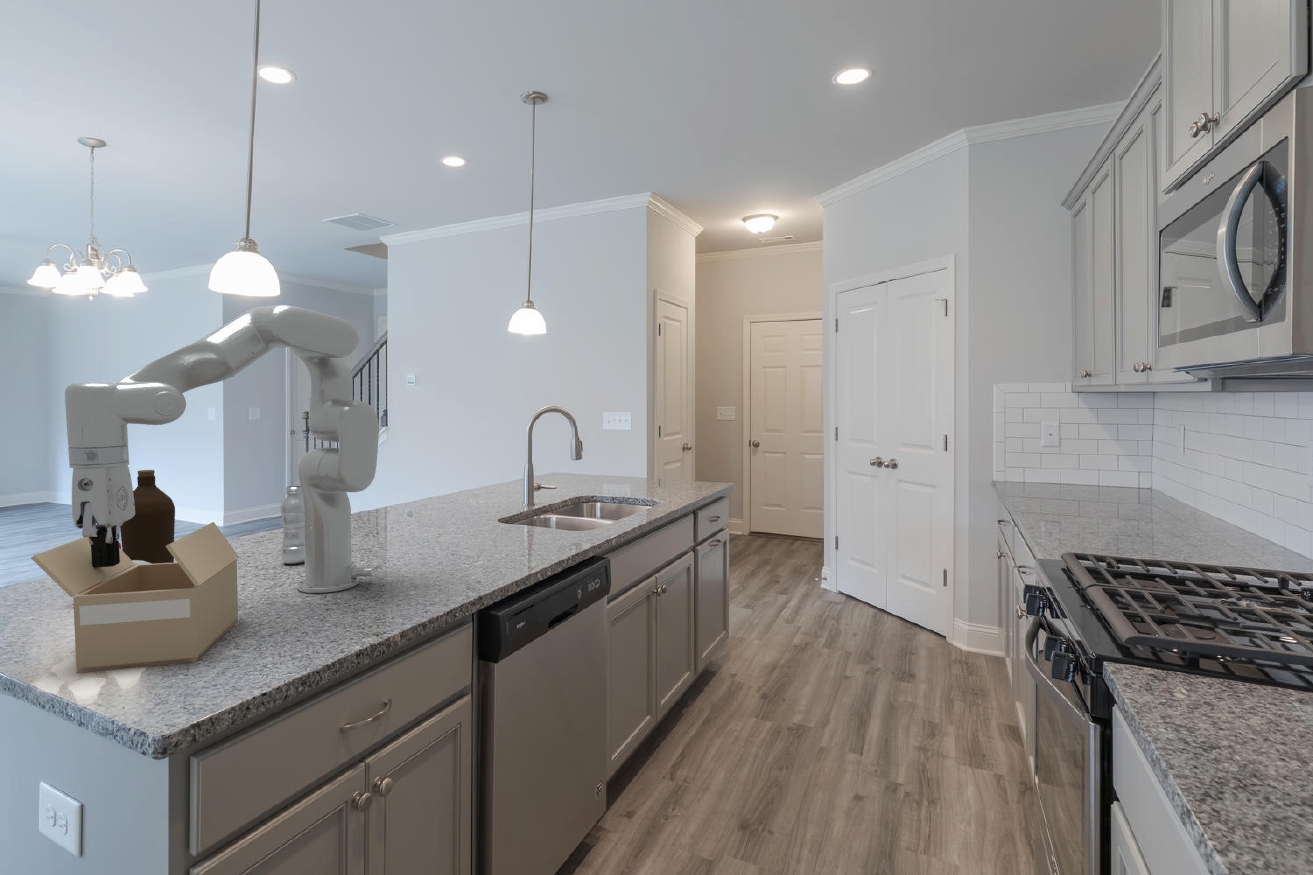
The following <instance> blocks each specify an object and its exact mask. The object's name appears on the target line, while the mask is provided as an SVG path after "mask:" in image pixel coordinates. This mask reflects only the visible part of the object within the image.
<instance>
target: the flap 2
mask: <svg viewBox="0 0 1313 875" xmlns="http://www.w3.org/2000/svg"><path fill="white" fill-rule="evenodd" d="M166 548H167V549H168V550H169V552H170V553H171V554H172V556H173V557H174V561H176V562H178V564H179V565H180V566H181V568H182V569H183V570H184V572H185V573H186V574H187V576H188V577H189V578H190V580H191V581H192V583H193V584H194V585H195V587H197V586H199V585H201V584H202V583H203V582H205V581H206V580H208V579H209V578H210V577H212V576H213V575H215V574H216V573H217V572H219V571H220V570H222V569H223V568H224V567H226V566H227V565H229V564H230V563H231V562H233V561H234V560H236V559H238V558H239V555H238V554H237V552H236V551H235V548H233V547H232V545H231V544H230V543H229V541H228V540H227V538H226V537H225V535H224V534H223V533H222V531H221V530H220V529H219V527H218V526H217V525H216V523H215V522H214V521H213V522H211V523H208V524H206V525H204V526H203V527H201V528H198V529H197V530H194V531H193V532H191V533H189V534H187V535H185V536H182V537H181V538H179V539H176V540H174V542H172V543H170V544H169V545H167V546H166Z"/></svg>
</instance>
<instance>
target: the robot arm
mask: <svg viewBox="0 0 1313 875" xmlns="http://www.w3.org/2000/svg"><path fill="white" fill-rule="evenodd" d="M359 342H360V341H359V334H358V331H357V330H356V328H355V326H354V325H353V324H352V323H351V322H349V321H348V320H346V319H344V318H343V317H342V318H341V317H340V316H335V315H330V314H327V313H323V312H319V311H315V310H312V309H307V308H303V307H301V306H300V307H299V306H296V305H289V304H274V305H261V306H255V307H252V308H250V309H248V310H246V311H244V312H243V313H241V314H238V316H236V317H235V318H233V319H231V320H230V321H228V322H226V323H224V324H223V325H222V326H220V327H218V328H217V329H215V330H214V331H212V332H210V333H208V334H207V335H206V336H204V337H202V338H200V339H199V340H197V341H195V342H193V343H190V344H187V345H185V346H183V347H181V348H180V349H177V350H175V351H173V352H171V353H169V354H167V355H164V356H162V357H160V358H156V359H155V360H153V361H151V362H149V363H147V364H145V365H143V366H142V367H139V369H137V370H135V371H133V372H131V373H130V374H128V375H127V376H125V377H124V378H122V379H120V380H119V381H118V382H116V383H115V382H113V383H112V382H75V383H74V382H73V383H71V384H69V385H68V386H66V388H65V389H64V390H65V391H64V405H65V419H66V432H67V433H66V435H67V447H68V448H67V450H68V452H67V453H68V464H69V465H68V467H69V468H71V469H73V470H72V478H71V515H72V521H73V525H74V526H75V527H76V528H78V529H82V532H81V536H82V538H83V537H88V538H89V543H90V545H91V556H92V566H93V567H94V568H96V567H111V566H115V565H117V564H119V563H120V554H119V543H120V541H119V540H120V539H121V532H120V526H121V525H122V524H123V523H124V522H125V521H127V520H129V519H131V518H132V517H133V516H134V515H135V504H134V495H133V491H134V488H133V482H132V476H131V471H130V467H129V465H130V454H129V437H128V436H129V435H128V425H129V424H133V425H136V424H137V425H148V426H149V425H150V426H161V425H162V426H163V425H167V424H171V423H173V422H175V421H177V420H178V419H180V418H181V417H182V416H183V415H184V413H185V412H186V411H185V410H186V408H187V401H186V397H185V396H184V394H183V393H186V392H188V391H191V390H193V389H197V388H200V387H203V386H208V385H211V384H215V383H216V384H217V383H219V382H223V381H225V380H229V379H231V378H232V377H235V376H236V375H238V374H239V373H240V372H242V371H244V370H245V369H247V368H248V367H249V366H251V365H252V364H253V363H255V362H257V360H259V359H260V358H262V357H264V356H265V355H266V354H268V353H270V352H271V351H272V350H274V349H277V348H280V349H281V348H290V349H291V351H292V352H293V353H294V354H295V355H296V356H297V358H299V359H300V360H301V361H302V362H303V364H304V365H305V366H306V369H307V370H308V373H309V376H310V399H309V400H310V401H309V412H308V413H309V414H308V428H309V432H310V434H311V435H312V436H313V437H314V438H315V439H318V440H319V441H324V442H330V443H331V442H332V443H333V442H334V443H338V447H326V446H325V447H316V448H313V449H311V450H309V451H307V452H305V454H304V455H302V457H301V459H300V461H299V463H298V466H297V467H298V468H297V475H298V480H299V486H301V489H302V496H303V504H304V550H305V562H304V578H303V579H301V580H300V581H299V582H298V583H297V584H296V587H297V590H298V591H300V592H302V593H306V594H307V593H309V594H325V593H326V594H327V593H333V592H339V591H344V590H347V589H350V588H353V587H355V586H358V584H360V577H373V568H372V567H369V566H362V567H361V566H360V567H358V566H356V565H355V564H356V563H355V561H352V560H353V559H352V558H353V557H352V508H351V502H350V499H349V495H348V493H359V492H363V491H365V490H366V489H368V488H369V487H370V486H371V484H372V483H373V481H374V479H375V477H376V476H375V475H376V472H377V464H378V463H377V462H378V452H379V451H378V450H379V438H380V436H379V435H380V422H379V417H378V415H377V413H376V410H375V409H374V408H373V407H372V406H371V405H370V404H369V403H367V402H365V401H362V400H357V399H356V400H355V399H354V396H353V394H354V390H353V389H354V382H353V380H354V379H353V374H352V371H351V368H350V366H349V364H348V362H347V360H346V359H345V358H347V357H348V356H349V357H350V356H351V355H352V354H354V352H356V350H357V348H358V347H359ZM115 540H118V541H115Z"/></svg>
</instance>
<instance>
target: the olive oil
mask: <svg viewBox="0 0 1313 875" xmlns="http://www.w3.org/2000/svg"><path fill="white" fill-rule="evenodd" d="M136 481H137V486H136V487H135V489H133V495H134V504H135V515H134V516H133V517H132V518H131V519H129V520H127V521H125V522H124V523H123V524H122V525H121V526H120V540H121V550H122V551H123V552H124V553H125V554H126V555H127V556H128V557H129V558H130V559H131V560H140V561H145V562H149V563H151V564H157V563H175V558H174V557H173V556H172V554H171V553H170V552H169V550H168V549H167V548H166V546H167V545H169V544H170V543H172V542H174V541H175V529H176V528H175V527H176V526H175V524H176V523H175V522H176V521H175V520H176V507H175V504H174V501H173V500H172V498H171V497H170V496H169V495H168V494H167V493H165V491H163V490H161V489H160V488H159V487H158V486H157V484H156V475H155V470H154V469H142V470H137V477H136Z"/></svg>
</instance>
